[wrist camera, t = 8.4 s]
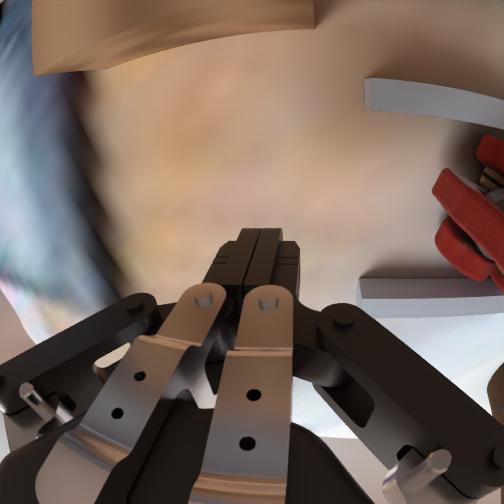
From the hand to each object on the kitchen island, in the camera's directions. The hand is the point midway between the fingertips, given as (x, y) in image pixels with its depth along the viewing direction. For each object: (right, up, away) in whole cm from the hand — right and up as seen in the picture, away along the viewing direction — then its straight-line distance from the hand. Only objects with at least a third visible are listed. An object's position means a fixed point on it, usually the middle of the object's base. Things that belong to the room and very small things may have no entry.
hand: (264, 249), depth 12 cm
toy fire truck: (+14, +2, +2) cm, 15 cm away
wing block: (-4, +13, 0) cm, 13 cm away
